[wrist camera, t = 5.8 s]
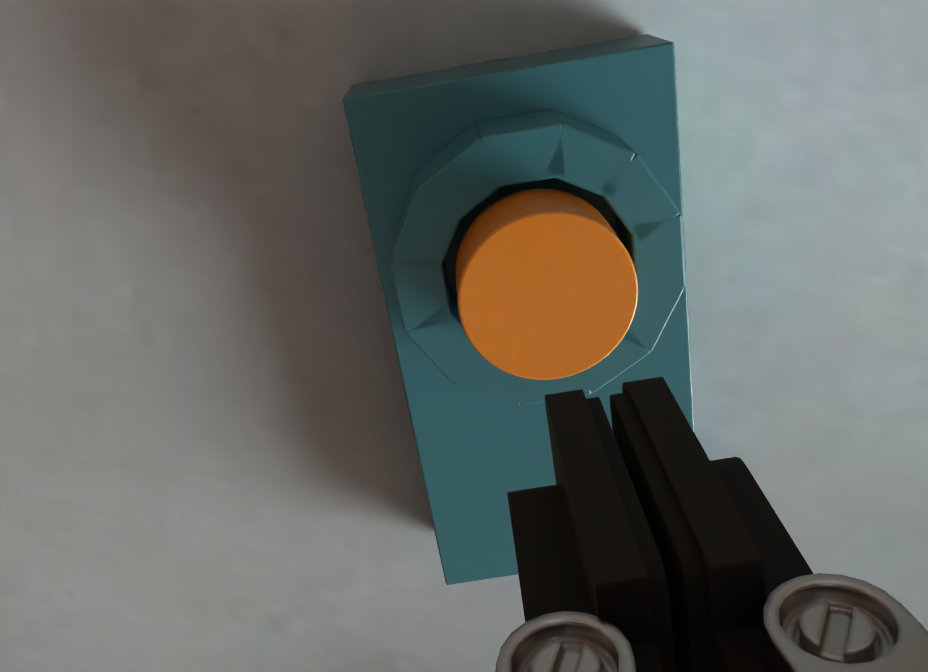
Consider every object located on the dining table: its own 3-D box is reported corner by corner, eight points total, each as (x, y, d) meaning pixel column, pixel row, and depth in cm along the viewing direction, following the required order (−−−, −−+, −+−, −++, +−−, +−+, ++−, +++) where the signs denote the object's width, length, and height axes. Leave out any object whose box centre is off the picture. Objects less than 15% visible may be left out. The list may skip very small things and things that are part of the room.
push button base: (350, 84, 22) (332, 112, 18) (649, 33, 22) (699, 49, 18) (444, 535, 28) (447, 632, 24) (679, 499, 28) (721, 591, 24)
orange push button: (442, 202, 19) (443, 228, 18) (612, 174, 19) (631, 197, 17) (469, 355, 21) (472, 393, 19) (625, 330, 21) (645, 366, 19)
